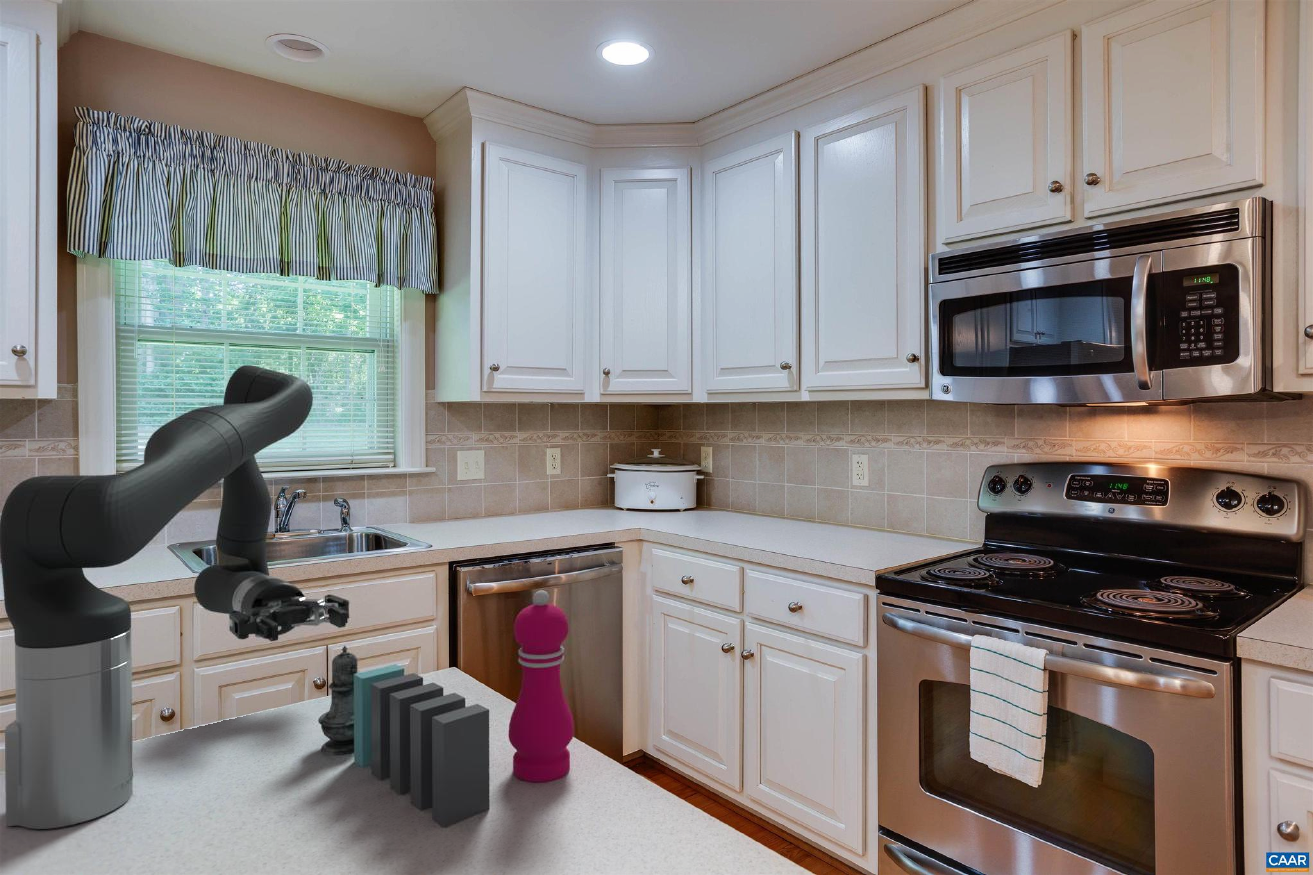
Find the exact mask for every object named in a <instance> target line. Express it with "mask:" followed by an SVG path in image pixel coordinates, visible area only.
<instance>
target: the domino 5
mask: <svg viewBox="0 0 1313 875" xmlns="http://www.w3.org/2000/svg"><path fill="white" fill-rule="evenodd" d="M432 791H433V807H432V820H433V822H435V823H437V824H438V825H439V826H440V827H442V828H443V829H445V828H447V827H450V826H452V825H455V824H458V823H461V822H462V821H464V820H467V819H469V818H471V817H474V816H476V815H479V814H481V813H484V812H486V811H489V810H490V809H491V808H490V803H491V802H490V709H489V708H487V707H485V706H483V705H481V704H480V703H475V704H473V705H472V704H471V705H468V706H465V708H461V709H458V710H455V711H451V712H448V713H445V714H441V715H438V716H435V717H432Z"/></svg>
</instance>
